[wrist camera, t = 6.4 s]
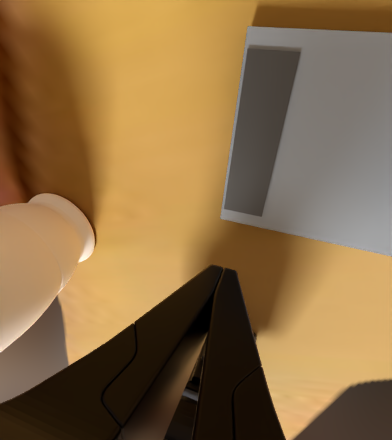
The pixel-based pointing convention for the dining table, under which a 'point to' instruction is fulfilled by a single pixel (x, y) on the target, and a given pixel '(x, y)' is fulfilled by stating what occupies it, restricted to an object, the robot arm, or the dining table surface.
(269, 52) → the bridge deck
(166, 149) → the dining table surface
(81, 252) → the jar
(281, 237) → the dining table surface
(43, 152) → the dining table surface
